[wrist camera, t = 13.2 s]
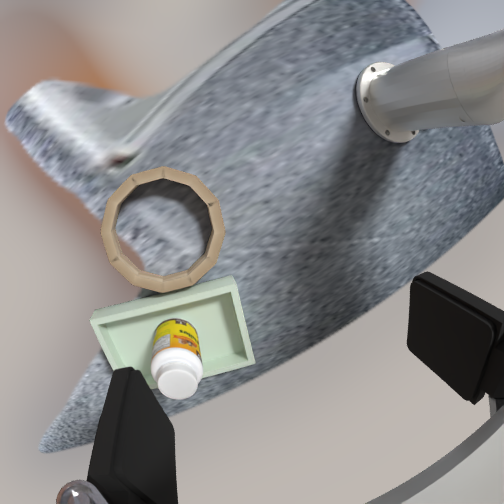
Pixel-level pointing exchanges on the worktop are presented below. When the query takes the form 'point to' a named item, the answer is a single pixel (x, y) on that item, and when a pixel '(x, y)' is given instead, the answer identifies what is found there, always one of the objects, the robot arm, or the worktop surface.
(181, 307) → the tray
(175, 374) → the supplement bottle
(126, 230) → the worktop surface
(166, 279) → the collar
